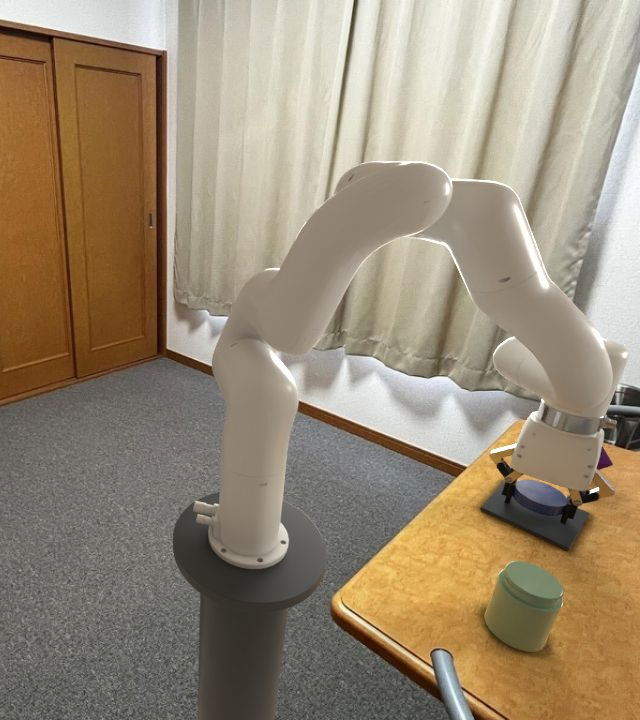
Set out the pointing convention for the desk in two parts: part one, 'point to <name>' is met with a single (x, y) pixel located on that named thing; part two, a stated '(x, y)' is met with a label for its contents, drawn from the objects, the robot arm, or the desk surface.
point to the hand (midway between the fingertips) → (534, 508)
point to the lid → (539, 497)
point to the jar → (524, 606)
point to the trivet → (535, 520)
